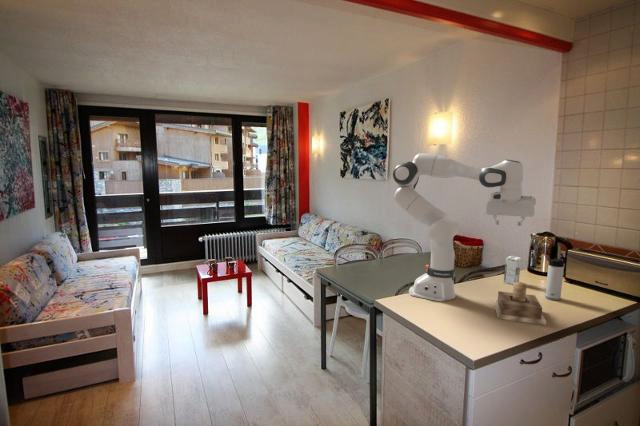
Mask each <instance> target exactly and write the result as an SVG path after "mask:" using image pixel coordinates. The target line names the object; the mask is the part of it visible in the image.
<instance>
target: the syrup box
mask: <svg viewBox="0 0 640 426" xmlns="http://www.w3.org/2000/svg"><path fill="white" fill-rule="evenodd" d="M521 263H522V257H519V256H515V255H510V256H507V257H505V265H504V274H503V283H504V282H505V283H504V284H508V285H513V286H514V282H520V272H521Z"/></svg>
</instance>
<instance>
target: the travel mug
mask: <svg viewBox="0 0 640 426" xmlns="http://www.w3.org/2000/svg"><path fill="white" fill-rule="evenodd" d="M564 266H565V260H564V259H560V258H552V259H550V258H549V260H548V267H547V277H546V286H545V298H546V299H547V300H550V301H554V302H555V301H557V302H558V301H560V300H561V298H562V297H561V296H562V286H563V278H564V277H563V276H564V270H565V269H564V268H565V267H564Z"/></svg>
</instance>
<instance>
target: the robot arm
mask: <svg viewBox="0 0 640 426" xmlns="http://www.w3.org/2000/svg"><path fill="white" fill-rule="evenodd" d="M420 176H428V177H433V178H440V179H448V178H455V177H460V178H467V179H472V180H477V181H479V183H480V184H481V186H484V187H485V188H488V189H493V188H495V187H496V188H497V187H500V189H499V191H496V192H491V193H489V195H488V196H489V199H488V200H487V201H486V203H485V209H484V210H485V214H486V215H490V216H491V215H492V217H493V219H494V225H496V226H497V225H500V220H498V219H497V217H498V216H511V217H520V220H519V221H517V226H518V227H522V225H523V224H522V223H523V222H524V221H525V220H526V217H529V218H532V217H534V215H535V206H536V203H537V201H536V198H535V197H534V196H532V195H522V191H523V187H522V183H523V179H524V166H523V163H522V162H520V161H518V160H513V159H504V160H503V161H501V162H500V163H497V164H495V165H489V166H485V167H482V166H481V167H480V166H475V165H471V164H470V165H469V164H464V163H462V162H459V161H457V160H455V159H454V158H450V157H448V156H445V155H441V154H436V153H429V152H428V153H427V152H426V153H425V152H421V153H419V152H418V153H417V154H416V155H415V156H414V157H413V160H412V161H407V162H403V163H400V164H398V165H396V166H395V168H394V169H393V172H392V178H393V180H394V182H395V183H396V184H397V185H398V188H397V189H396V190H395V193H394V195H393V198H394V201H395V202H396V203H397V204H398V205H399V207H400V208H402V210H403V211H404V212H406V213H407V214H408V215H410V217H411V218H412V219H414V220H415V221H416V222H418V223H420V224H422V225H424V226H426V227H427V228H428V230H427V235H428V238H429V245H430V265H429V264H426V265H425V273H424V274H422V275H420V276H419V277H418V276H417V278H416V279H415V281H414V284H413V285H412V286H410V288H409V290H408V293H409V295H410V296H412V297H416V298H421V299H424V300H425V299H426V300H431V301H436V302H445V301H450V300H454V299H455V298H456V292H455V284H454V282H455V274H456V271H455V250H454V237H455V236H456V235H458V232H459V230H460V224H459V221H458V220H457V219H456V218H455V217H453V216H451V215H450V214H448V213H446V212H445V211H443V210H441V209H440V208H439V207H436V206H435V205H434V204H432V203H431V202H430V201H428V200H427V199H426V198H425V197H424V196H422V195H421V194H420V193H418V191H416V186H417V185H418V182H419V177H420Z"/></svg>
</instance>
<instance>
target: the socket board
mask: <svg viewBox="0 0 640 426" xmlns="http://www.w3.org/2000/svg"><path fill="white" fill-rule="evenodd" d="M512 298H513V292H508V291H502V290H500V291H498V292H497V299H493V306H494V309H495V314H496V317H497V319H498V320H499V319H500V320H506V321H514V322H520V323H521V322H522V323H529V324H537V325H543V326H546V325H547V320H546V319H545V317H544V315H543V307H542V305H541V303H540V302H539V299H538V298H537V296H536V295H534V294H527V293H526V299H525V300H526V302H525V303H524V302H515V301H512Z"/></svg>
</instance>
